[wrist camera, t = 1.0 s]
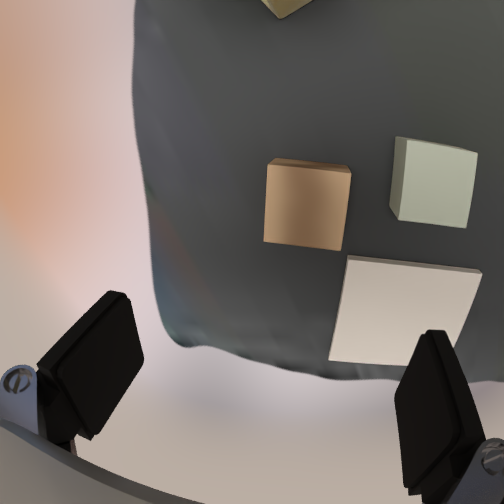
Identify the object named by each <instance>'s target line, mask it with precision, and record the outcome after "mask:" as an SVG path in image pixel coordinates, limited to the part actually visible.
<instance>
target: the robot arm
mask: <svg viewBox="0 0 504 504" xmlns="http://www.w3.org/2000/svg"><path fill="white" fill-rule="evenodd" d="M143 363H144V356H143V351H142V348H141V343H140V340H139V335H138V331H137V327H136V323H135V318H134V314H133V309H132V305H131V301H130V299H128V298H127V296H126V294H125V293H121V292H116V291H111V290H110V291H108V292H106V294H104V295H103V296H102V297H101V298H100V299H99V300H98V301H97V302H96V303H95V304H94V305H93V306H92V307H91V308H90V309H89V310H88V311H87V312H86V313H85V314H84V315H83V316H82V317H81V318H80V319H79V320H78V321H77V322H76V323H75V324H74V325H73V326H72V327H71V328H70V329H69V330H68V331H67V332H66V333H65V334H64V335H63V336H62V337H61V338H60V339H59V340H58V341H57V342H56V344H55V345H54V346H53V347H52V348H51V349H50V350H49V351H48V352H47V353H46V354H45V355H44V356H43V357H42V358H41V360H40V361H39V362H38V363H37V366H38V368H39V369H38V371H37V372H35V370H34V369H33V368H32V367H30V366H28V365H17V366H14V367H12V368H10V369H9V370H7V371H6V372H5V373H4V374H3V376H2V378H1V380H0V504H204V503H199V502H196V501H192V500H188V499H185V498H182V497H178V496H175V495H172V494H168V493H165V492H162V491H159V490H156V489H153V488H151V487H148V486H145V485H142V484H139V483H137V482H134V481H132V480H129V479H126V478H124V477H121V476H119V475H116V474H114V473H112V472H110V471H107V470H105V469H103V468H101V467H98V466H96V465H94V464H92V463H90V462H88V461H86V460H84V459H82V458H80V457H78V456H77V451H76V446H75V440H74V437H75V436H76V434H78V435H79V436H82V437H84V438H86V439H88V440H90V441H91V440H92V438H93V437H94V435H97V434H99V433H100V431H101V430H102V428H103V427H104V425H105V424H106V422H107V420H108V419H109V417H110V416H111V414H112V412H113V411H114V409H115V407H116V406H117V404H118V403H119V401H120V400H121V398H122V397H123V395H124V394H125V392H126V390H127V389H128V387H129V386H130V384H131V383H132V381H133V379H134V378H135V376H136V375H137V373H138V372H139V370H140V369H141V367H142V365H143ZM394 402H395V409H396V415H397V423H398V432H399V441H400V449H401V461H402V472H403V484H404V487H405V488H408V495H409V496H411V495H420V494H421V495H422V502H423V503H422V504H504V440H502V439H500V438H491V439H488V440H486V438H485V434H484V431H483V428H482V424H481V421H480V418H479V415H478V412H477V409H476V406H475V403H474V400H473V397H472V394H471V391H470V388H469V386H468V383H467V380H466V378H465V376H464V374H463V371H462V369H461V366H460V364H459V361H458V359H457V356H456V354H455V351H454V349H453V347H452V344H451V342H450V340H449V337H448V335H447V333H446V331H445V330H432V329H429V330H427V331H426V332H425V334H421V335H420V337H419V340H418V342H417V345H416V347H415V350H414V352H413V354H412V357H411V359H410V361H409V364H408V366H407V368H406V370H405V373H404V375H403V377H402V379H401V381H400V383H399V386H398V388H397V390H396V393H395V397H394Z"/></svg>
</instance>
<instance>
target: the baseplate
mask: <svg viewBox="0 0 504 504" xmlns="http://www.w3.org/2000/svg"><path fill="white" fill-rule="evenodd" d="M481 277H482V273H481V272H480V271H479V269H470V268H462V267H453V266H444V265H436V264H427V263H418V262H409V261H400V260H391V259H382V258H373V257H364V256H354V255H348V256H347V262H346V268H345V274H344V280H343V286H342V292H341V297H340V302H339V308H338V313H337V318H336V323H335V327H334V332H333V337H332V342H331V346H330V351H329V359H328V360H332V361H343V362H355V363H369V364H385V365H405V366H408V364H409V361H410V359H411V357H412V354H413V352H414V350H415V347H416V345H417V342H418V340H419V337H420V335H421V334H425V332H426V331H427V330H429V329H432V330H445V331H446V333H447V335H448V337H449V340H450V342H451V344H452V347H454V345H455V343H456V341H457V338H458V336H459V334H460V332H461V329H462V327H463V325H464V322H465V320H466V317H467V315H468V313H469V310H470V307H471V305H472V302H473V300H474V297H475V294H476V291H477V289H478V286H479V283H480V280H481Z"/></svg>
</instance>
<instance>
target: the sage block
mask: <svg viewBox="0 0 504 504" xmlns="http://www.w3.org/2000/svg"><path fill="white" fill-rule="evenodd" d="M477 155H478V153H476V152H473V151H469V150H466V149H463V148H460V147H455V146H450V145H445V144H440V143H435V142H429V141H423V140H417V139H411V138H404V137H398V136H396V137H395V152H394V164H393V175H392V184H391V193H390V202H389V207H390V208H391V210H392V211H393V213H394V214H395V216H396V217H397V219H398V220H403V221H412V222H420V223H429V224H437V225H445V226H452V227H460V228H466V225H467V220H468V215H469V210H470V205H471V199H472V193H473V187H474V180H475V172H476V164H477Z"/></svg>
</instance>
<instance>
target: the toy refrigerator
mask: <svg viewBox="0 0 504 504" xmlns="http://www.w3.org/2000/svg"><path fill="white" fill-rule="evenodd" d="M261 1H262V2H263V3H264V4H265V5H266V6H267V7H268V8H269V9H270V10H271V11H272V12H273V13H274V14H275V15H276V16H277V17H278V18H279V19H282V18H284V17H286V16H288V15H289V14H291V13H293V12H294V11H296V10H297V9H299V8H301V7H302V6H304V5H306V4H307V3H309V2H311V1H312V0H261Z"/></svg>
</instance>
